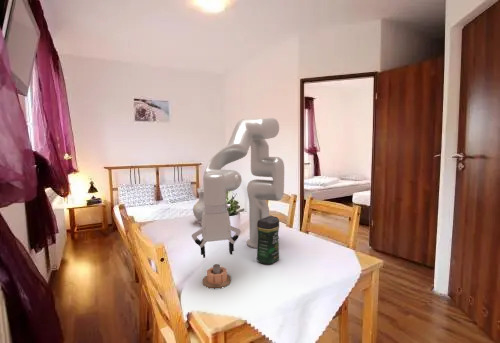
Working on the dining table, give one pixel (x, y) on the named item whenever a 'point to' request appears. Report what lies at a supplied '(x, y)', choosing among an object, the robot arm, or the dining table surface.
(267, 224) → the coffee jar
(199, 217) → the ceramic pitcher
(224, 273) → the ring
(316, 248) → the dining table surface
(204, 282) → the post stand
